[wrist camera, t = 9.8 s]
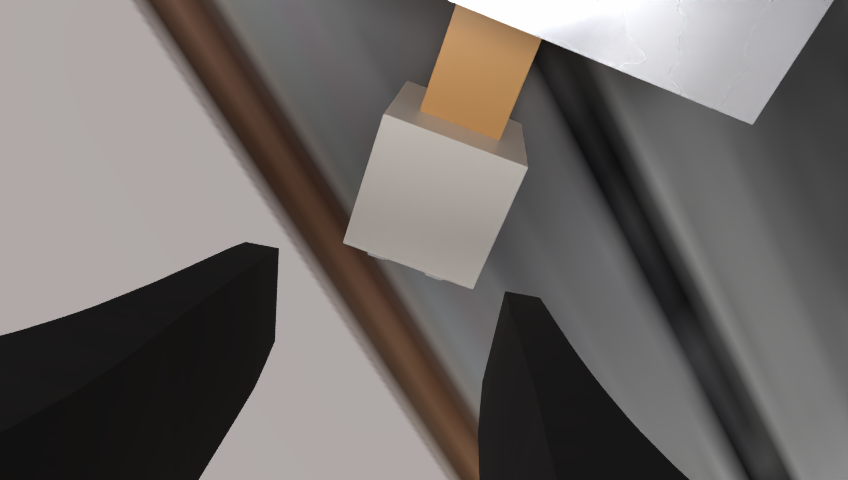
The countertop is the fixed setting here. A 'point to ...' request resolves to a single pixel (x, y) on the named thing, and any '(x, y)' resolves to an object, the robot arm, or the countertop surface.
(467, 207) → the plug
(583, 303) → the countertop surface
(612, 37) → the housing
